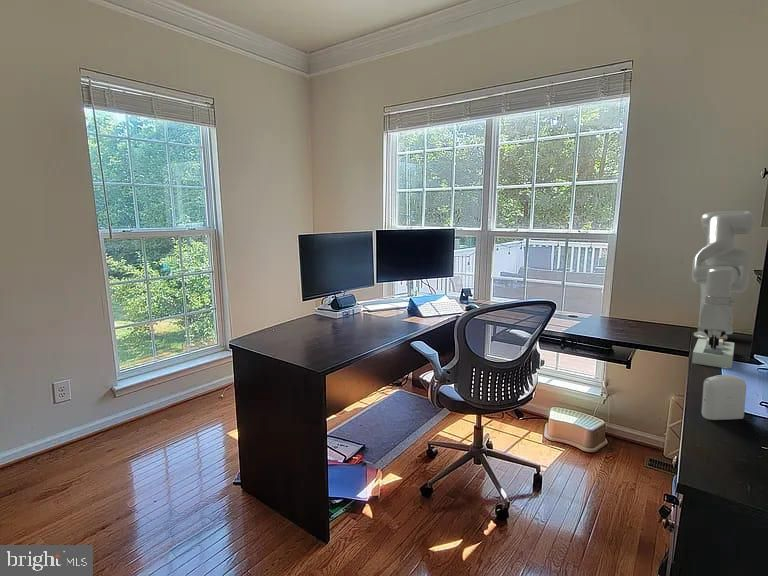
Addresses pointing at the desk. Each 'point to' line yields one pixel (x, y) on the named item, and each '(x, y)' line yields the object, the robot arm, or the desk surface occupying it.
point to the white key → (713, 345)
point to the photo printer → (723, 397)
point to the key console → (713, 355)
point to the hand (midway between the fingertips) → (713, 347)
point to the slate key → (713, 350)
